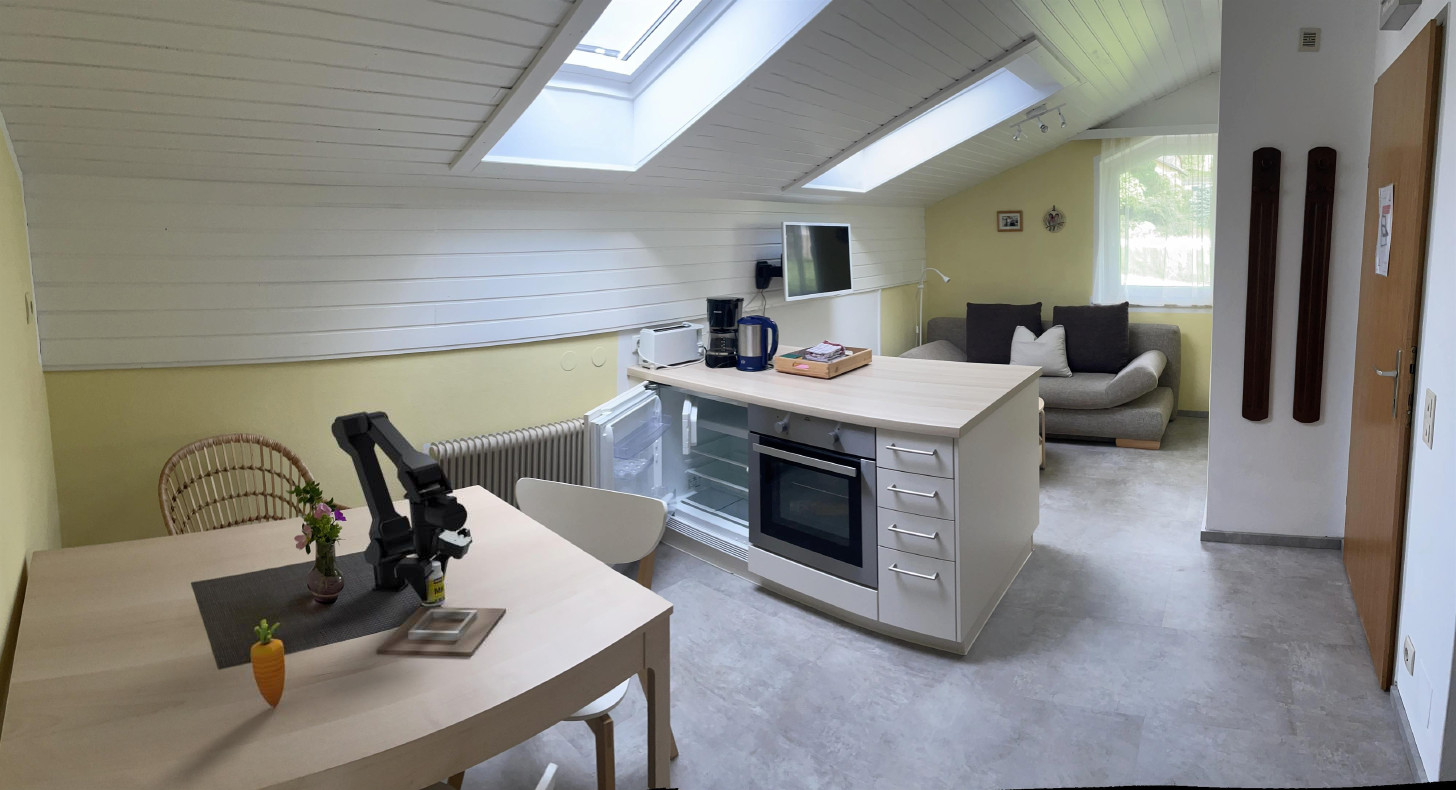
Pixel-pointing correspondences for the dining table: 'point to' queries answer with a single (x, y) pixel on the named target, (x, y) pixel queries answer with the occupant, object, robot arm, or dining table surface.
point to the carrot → (268, 664)
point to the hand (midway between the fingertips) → (432, 593)
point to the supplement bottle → (435, 586)
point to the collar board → (443, 631)
